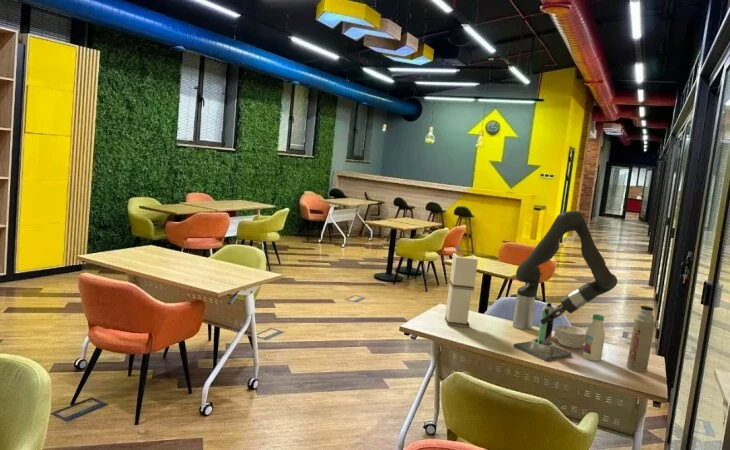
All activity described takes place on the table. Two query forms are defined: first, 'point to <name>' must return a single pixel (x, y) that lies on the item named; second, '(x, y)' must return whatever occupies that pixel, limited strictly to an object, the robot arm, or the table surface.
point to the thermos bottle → (641, 340)
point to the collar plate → (543, 354)
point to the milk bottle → (594, 339)
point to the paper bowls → (570, 336)
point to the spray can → (545, 326)
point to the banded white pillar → (460, 290)
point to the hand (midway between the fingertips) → (542, 321)
